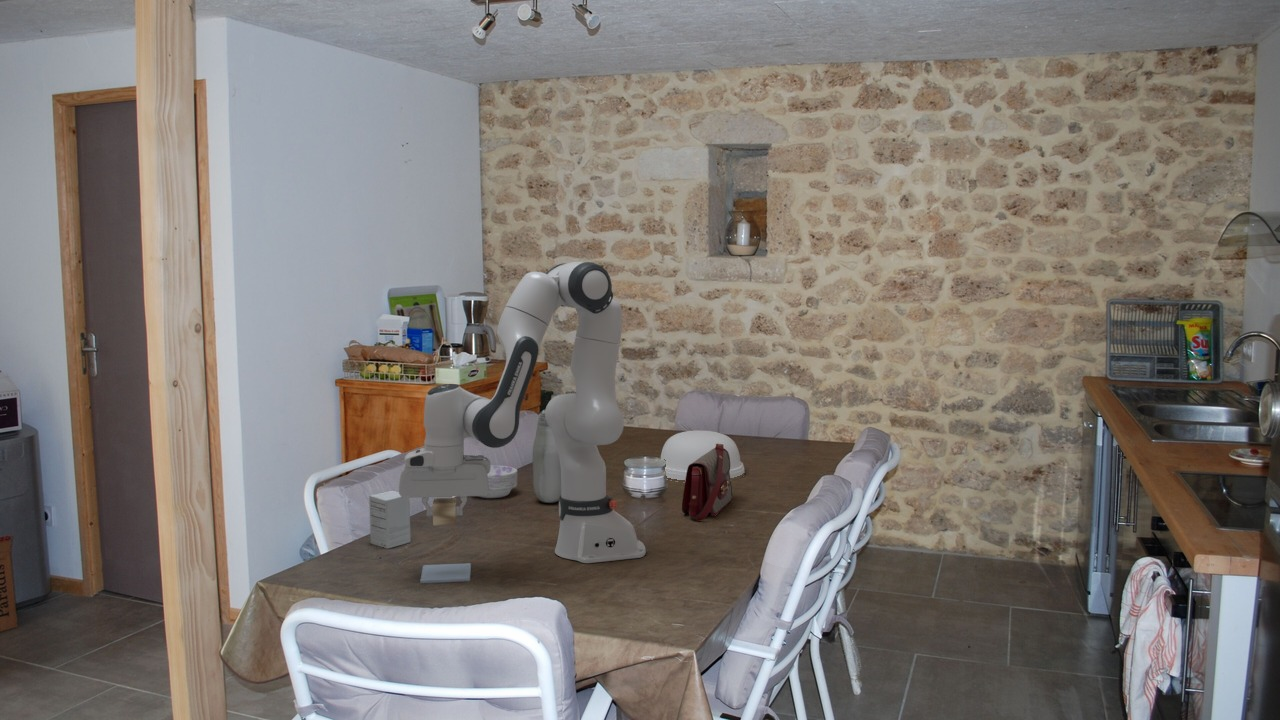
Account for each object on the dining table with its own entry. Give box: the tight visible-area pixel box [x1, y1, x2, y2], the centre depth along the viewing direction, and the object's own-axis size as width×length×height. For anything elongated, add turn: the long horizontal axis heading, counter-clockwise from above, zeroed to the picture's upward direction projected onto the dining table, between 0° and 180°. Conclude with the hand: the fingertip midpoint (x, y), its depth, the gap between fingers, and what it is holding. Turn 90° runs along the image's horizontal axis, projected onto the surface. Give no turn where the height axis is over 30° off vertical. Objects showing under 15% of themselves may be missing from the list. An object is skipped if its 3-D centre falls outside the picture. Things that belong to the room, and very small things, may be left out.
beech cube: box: [432, 497, 457, 526], centre depth 226 cm, size 5×5×5 cm
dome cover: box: [660, 429, 745, 480], centre depth 332 cm, size 32×30×14 cm
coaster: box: [419, 562, 472, 584], centre depth 228 cm, size 11×11×1 cm
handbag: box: [681, 444, 733, 521], centre depth 285 cm, size 28×11×17 cm, turn 160°
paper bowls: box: [478, 464, 518, 499], centre depth 301 cm, size 15×15×8 cm
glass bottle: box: [532, 408, 561, 504], centre depth 292 cm, size 10×10×28 cm
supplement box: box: [368, 490, 411, 550], centre depth 251 cm, size 7×7×13 cm
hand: (444, 515), depth 226 cm, fingers closed on beech cube, 5 cm apart
